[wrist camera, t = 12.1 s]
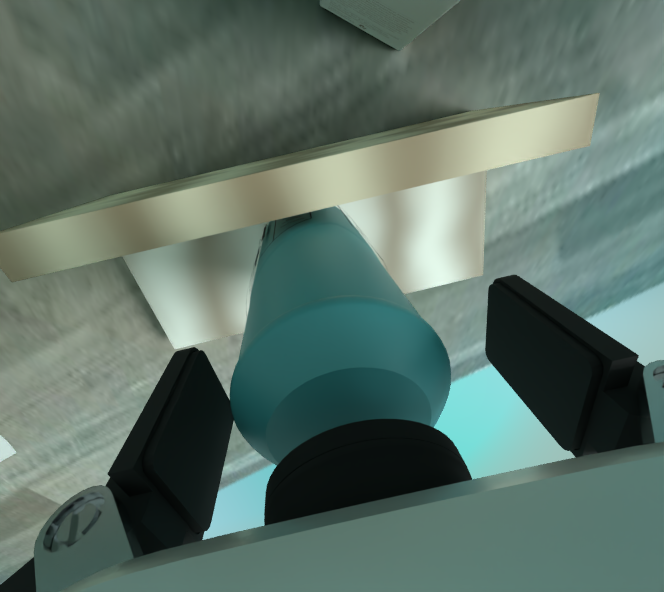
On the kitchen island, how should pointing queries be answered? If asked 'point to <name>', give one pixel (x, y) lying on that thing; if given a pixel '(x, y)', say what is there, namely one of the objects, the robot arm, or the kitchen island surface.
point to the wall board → (301, 197)
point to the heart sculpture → (5, 449)
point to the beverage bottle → (338, 374)
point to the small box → (390, 17)
